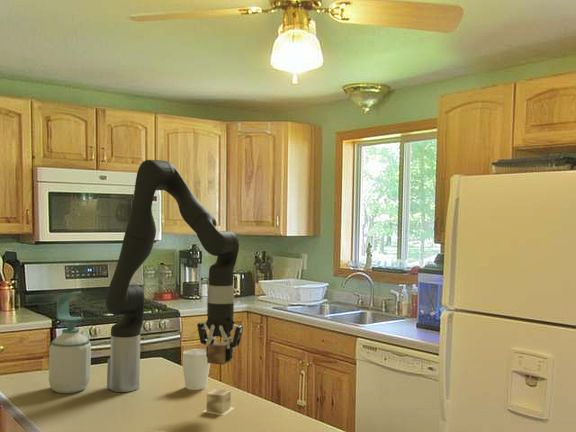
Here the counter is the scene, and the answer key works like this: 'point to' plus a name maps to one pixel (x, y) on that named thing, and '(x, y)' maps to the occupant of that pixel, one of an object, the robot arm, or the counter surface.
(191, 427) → the counter surface
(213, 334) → the robot arm
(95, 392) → the counter surface
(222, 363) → the walnut block
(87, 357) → the soap bottle
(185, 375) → the cup
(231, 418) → the counter surface
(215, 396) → the maple block
